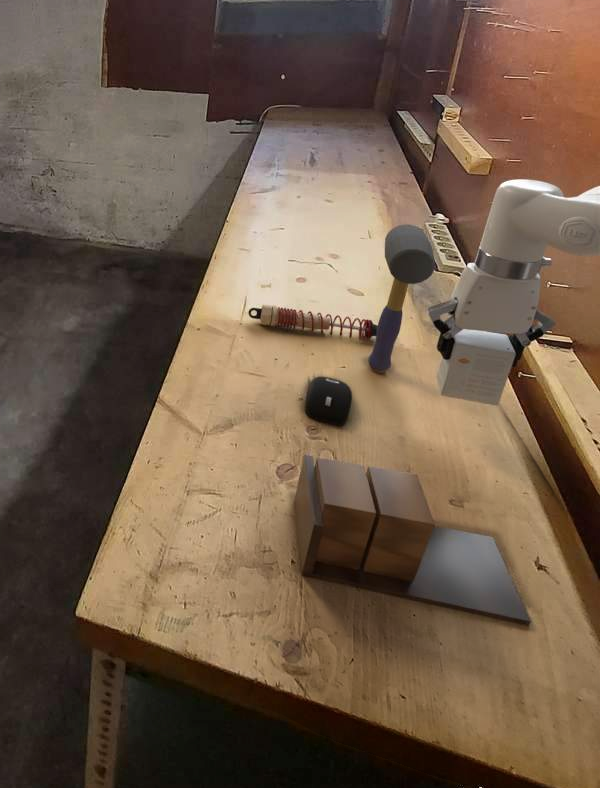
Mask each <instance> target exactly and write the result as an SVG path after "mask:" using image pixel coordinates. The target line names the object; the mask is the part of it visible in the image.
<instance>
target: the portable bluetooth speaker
mask: <svg viewBox="0 0 600 788" xmlns="http://www.w3.org/2000/svg"><path fill="white" fill-rule="evenodd" d="M352 402H353V393H352V390H351V387H350V386H349V385H348V384H347V383H346V382H344V381H341V380H339V379H336V378H332V377H328V376H316V377H314V378H313V379H312V380H311V381H310V383H309V385H308V388H307V391H306V395H305V401H304V412H305V414H306V415H307V416H309V417H311V418H313V419H316V420H319V421H323V422H326V423H329V424H333V425H338V426H342V425H345V424H346V423H347V421H348V419H349V416H350V412H351V409H352V408H351V407H352V404H353V403H352Z"/></svg>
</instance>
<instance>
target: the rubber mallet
mask: <svg viewBox="0 0 600 788" xmlns="http://www.w3.org/2000/svg"><path fill="white" fill-rule="evenodd" d="M384 258H385V262H386V264H387V267H388V270H389V273H390V275H391V276H392V277H393V281H392V284H391V288H390V291H389V296H388V299H387V302H386V305H385V306H384V308H383V309H382V312H381V314H380V316H379V319H378V323H377V334H376V336H375V340H374V344H373V348H372V352H371V353H370V355H369V356H368V359H367V363H368V365H369V367H370V369H371V370H372V371H373V372H374V373H378V374H384V373H386V372H387V371H388V370H390V368H391V366H392V354H393V350H394V346H395V344H396V341H397V339H398V336H399V334H400V331H401V327H402V321H403V307H404V303H405V298H406V296H407V292H408V288H409V285H416V284H420V283H423V282H425V281H426V280H428V279H429V278H430V277H431V276H432V275H433V273H434V272H435V268H436V260H435V254H434V249H433V247H432V243H431V242H430V240H429V237H428V236H427V234H426V232H424V230H423V229H422V228H420V227H419V226H418V225H417V226H416V225H414V224H400V225H396V226H395V227H393V228H391V229H390V230H389V231H388V232H387V233H386V236H385V238H384Z"/></svg>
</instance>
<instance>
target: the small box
mask: <svg viewBox="0 0 600 788" xmlns="http://www.w3.org/2000/svg"><path fill="white" fill-rule="evenodd" d="M508 337H509V335H507V334H506V333H497V332H487V331H477V330H468V329H463V330H462V331H460V332H459V333H457V334H456V335H455V336H453V338H454V339H455V343H454V346H453V350H452V353H451V356H450V359H448V360H444V359H443V357H442V356H441V359H440V363H439V366H438V370H437V374H436V379H437V385H438V388H439V392H440V396H442V397H448V398H453V399H456V400H457V399H458V400H463V401H467V402H475V403H479V404H485V405H490V406H495V407H498V406H499V404H500V401H501V399H502V395H503V393H504V389H505V387H506V383H507V380H508V378H509V375H510V372H511V370H512V368H513V367H512V364H513V361H514V358H515V355H516V353H515V351H514V349H513V347H512V344H511V342H510V340H509V338H508Z"/></svg>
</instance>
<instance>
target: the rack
mask: <svg viewBox="0 0 600 788" xmlns="http://www.w3.org/2000/svg"><path fill="white" fill-rule="evenodd" d="M293 509H294V518H295V526H296V536H297V546H298V556H299V562H300V575H301V576H302V577H307V578H312V579H317V580H321V581H325V582H330V583H333V584H334V583H335V584H338V585H339V584H340V585H344V586H348V587H353V588H358V589H362V590H367V591H370V592H376V593H379V594H384V595H388V596H393V597H398V598H401V599H402V598H403V599H406V600H412V601H415V602H421V603H424V604H430V605H434V606H439V607H443V608H447V609H451V610H456V611H462V612H466V613H470V614H474V615H479V616H483V617H488V618H492V619H498V620H500V621H501V620H502V621H506V622H511V623H514V624H515V623H516V624H518V625H525V626H530V625H531V624H532V620H531V618H530V616H529V614H528V612H527V609H526V607H525V604H524V603H523V601H522V598H521V596H520V594H519V592H518V590H517V587H516V585H515V583H514V580H513V579H512V576H511V574H510V572H509V570H508V568H507V565H506V563H505V560H504V559H503V556H502V554H501V552H500V550H499V548H498V545H497V543H496V541H495V539H494V537H493V536H490V535H485V534H479V533H474V532H469V531H465V530H464V531H463V530H458V529H454V528H447V527H443V526H437V525H436V523H435V520H434V517H433V514H432V511H431V509H430V507H429V503H428V500H427V497H426V495H425V492H424V489H423V487H422V484H421V481H420V479H419V476H418V474H416V473H410V472H405V471H399V470H394V469H393V470H392V469H387V468H381V467H376V466H370V465H368V466H367V470H366V468H365V465H363V464H359V463H358V464H357V463H352V462H347V461H341V460H334V459H330V458H329V459H328V458H323V457H316V459H315V460H314V456H313V455H308V454H303V459H302V462H301V467H300V472H299V477H298V481H297V487H296V491H295V496H294V500H293Z"/></svg>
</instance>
